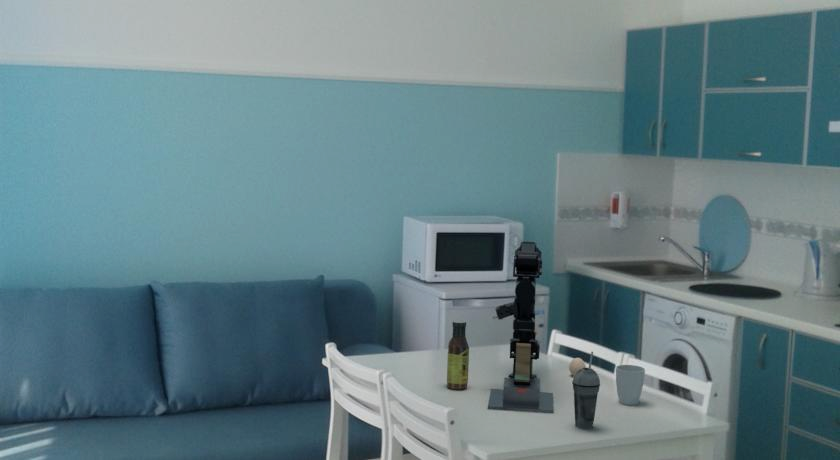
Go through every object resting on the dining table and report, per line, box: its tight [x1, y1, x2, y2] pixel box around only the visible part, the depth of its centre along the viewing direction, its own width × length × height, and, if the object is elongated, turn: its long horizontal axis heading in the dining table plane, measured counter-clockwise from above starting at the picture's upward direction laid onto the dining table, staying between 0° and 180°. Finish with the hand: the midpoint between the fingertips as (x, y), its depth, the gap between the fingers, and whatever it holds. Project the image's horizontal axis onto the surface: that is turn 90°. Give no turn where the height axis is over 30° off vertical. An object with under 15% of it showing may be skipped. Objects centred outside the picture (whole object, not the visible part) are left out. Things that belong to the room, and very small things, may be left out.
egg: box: [568, 357, 587, 376], centre depth 314 cm, size 5×5×6 cm
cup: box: [615, 364, 646, 406], centre depth 286 cm, size 8×8×10 cm
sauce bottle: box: [446, 319, 470, 391], centre depth 296 cm, size 6×6×20 cm
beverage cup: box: [572, 351, 601, 430], centre depth 262 cm, size 7×7×20 cm
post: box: [515, 343, 531, 382], centre depth 283 cm, size 4×4×10 cm
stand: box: [487, 377, 555, 414], centre depth 284 cm, size 18×18×6 cm
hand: (523, 347), depth 294 cm, fingers open, 9 cm apart
